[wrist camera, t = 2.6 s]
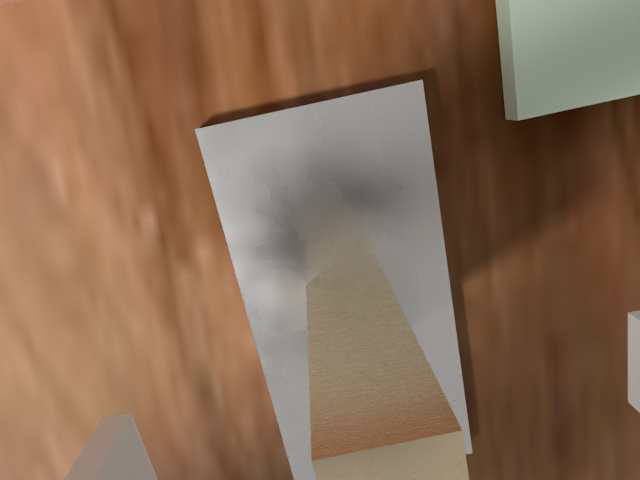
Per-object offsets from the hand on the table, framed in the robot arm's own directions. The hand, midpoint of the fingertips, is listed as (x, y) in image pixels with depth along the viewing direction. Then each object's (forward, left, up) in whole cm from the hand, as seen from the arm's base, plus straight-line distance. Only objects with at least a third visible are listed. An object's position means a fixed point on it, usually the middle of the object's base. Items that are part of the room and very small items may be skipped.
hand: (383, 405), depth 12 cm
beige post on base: (0, 0, -7) cm, 7 cm away
